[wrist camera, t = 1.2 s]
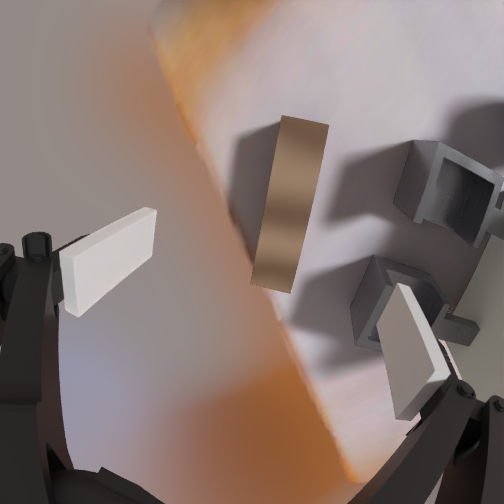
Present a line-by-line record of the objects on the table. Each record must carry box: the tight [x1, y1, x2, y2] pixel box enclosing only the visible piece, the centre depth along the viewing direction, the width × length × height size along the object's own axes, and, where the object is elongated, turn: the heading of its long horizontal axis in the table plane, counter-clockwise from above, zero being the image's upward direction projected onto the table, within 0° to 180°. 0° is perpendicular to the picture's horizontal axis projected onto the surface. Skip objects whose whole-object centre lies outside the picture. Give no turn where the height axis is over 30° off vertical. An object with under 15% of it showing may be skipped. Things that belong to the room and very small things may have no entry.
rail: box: [250, 115, 329, 294], centre depth 28 cm, size 16×4×5 cm, turn 170°
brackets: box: [350, 140, 504, 352], centre depth 25 cm, size 20×14×7 cm
